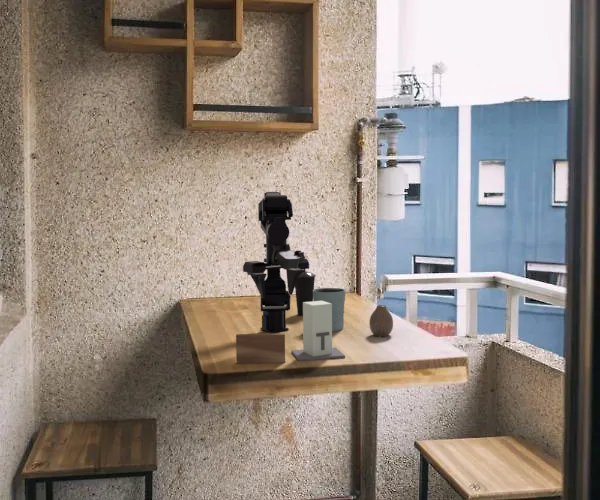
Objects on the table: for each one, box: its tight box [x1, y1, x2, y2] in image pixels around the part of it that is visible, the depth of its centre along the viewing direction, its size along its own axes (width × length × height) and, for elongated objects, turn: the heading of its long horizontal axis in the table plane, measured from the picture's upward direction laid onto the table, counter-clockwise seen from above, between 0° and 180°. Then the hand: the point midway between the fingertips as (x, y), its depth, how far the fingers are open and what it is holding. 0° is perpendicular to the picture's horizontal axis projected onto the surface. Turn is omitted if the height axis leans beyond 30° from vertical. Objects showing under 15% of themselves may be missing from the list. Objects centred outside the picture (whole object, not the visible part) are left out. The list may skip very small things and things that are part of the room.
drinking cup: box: [294, 255, 316, 317], centre depth 229 cm, size 8×8×20 cm
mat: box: [291, 347, 346, 362], centre depth 174 cm, size 12×9×1 cm
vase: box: [368, 304, 394, 337], centre depth 196 cm, size 7×7×9 cm
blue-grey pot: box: [313, 287, 346, 332], centre depth 206 cm, size 10×10×12 cm
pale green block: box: [302, 301, 333, 356], centre depth 173 cm, size 6×6×13 cm
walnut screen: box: [235, 332, 286, 365], centre depth 167 cm, size 2×12×7 cm, turn 93°
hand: (277, 296), depth 188 cm, fingers open, 9 cm apart
